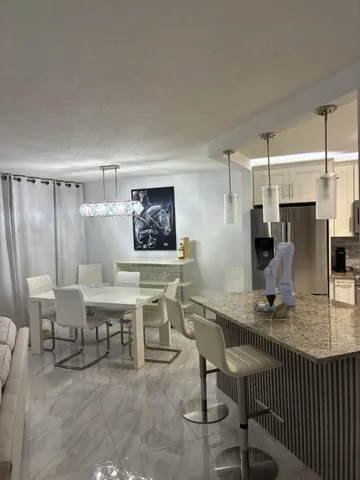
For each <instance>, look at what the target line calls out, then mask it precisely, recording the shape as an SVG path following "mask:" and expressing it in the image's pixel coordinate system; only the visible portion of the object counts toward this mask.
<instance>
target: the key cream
mask: <svg viewBox="0 0 360 480" xmlns="http://www.w3.org/2000/svg"><path fill="white" fill-rule="evenodd" d="M257 305H258V307H259V309H263V308H265V305H266V304H265V303H264V304H258V303H257Z"/></svg>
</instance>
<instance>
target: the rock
mask: <svg viewBox="0 0 360 480" xmlns="http://www.w3.org/2000/svg"><path fill="white" fill-rule="evenodd" d="M276 307H277V308H276V310H275V311H274V312H272V315H271V320H273V321H274V320H286V319H288V312H287V311H288V310H287V309H288V306H286V303H281V302H280V304H278V305H276Z"/></svg>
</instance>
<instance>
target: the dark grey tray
mask: <svg viewBox="0 0 360 480" xmlns="http://www.w3.org/2000/svg"><path fill="white" fill-rule="evenodd" d="M273 305H274V307H275V310H276V308H277V305H276V304H275V303H273ZM253 307H254V309H255V312H256V313H273V312H274V311H275V310H268V306H267V304H265V308H263V309H259V307H258V304H254V306H253Z"/></svg>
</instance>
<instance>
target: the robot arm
mask: <svg viewBox="0 0 360 480" xmlns="http://www.w3.org/2000/svg"><path fill="white" fill-rule="evenodd" d="M276 249H277V250H276V253H275V256H274V258H272V259H271V260H270V261H269V263H268V265H267V267H266V268H265V267H264V270H263V275H264V278H265V292H260V293H259V297H265V298H266V299H267V302H269V306H270V307H273V304H275V300H276V298H277V295H278V296H279V295H280V304H281V303H286V307H290V306H291V307H292V306H296V294H295V293H294V292H295V283H294V282H293V281H292V280H291V276H292V275H291V274H292V265H293V264H292V263H293V256H294V255H295V245H294V243H293V242H278V244H277V246H276ZM283 256H284V258H283V259H284V261H283V273H282V279H280V280H279V282H278V285H277V290H278V291H276V276H277V274H278V273H277V271H278V267H279V266H280V264H281V263H280V260H281V258H282V257H283Z"/></svg>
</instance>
